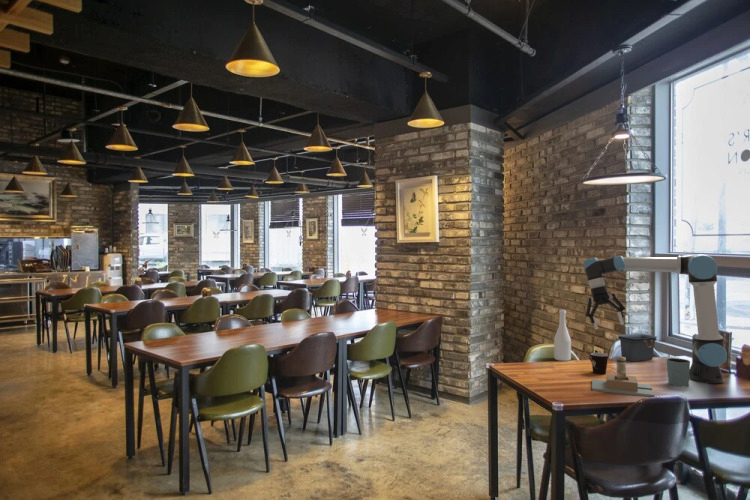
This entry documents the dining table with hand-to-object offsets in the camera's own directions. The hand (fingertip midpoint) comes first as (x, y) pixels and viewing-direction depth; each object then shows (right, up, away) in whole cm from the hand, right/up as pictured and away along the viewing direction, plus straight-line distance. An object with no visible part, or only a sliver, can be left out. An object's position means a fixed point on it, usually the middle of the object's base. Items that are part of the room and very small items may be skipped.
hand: (609, 326), depth 257 cm
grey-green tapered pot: (+29, -27, -11) cm, 41 cm away
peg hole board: (-3, -27, -18) cm, 33 cm away
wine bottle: (-8, -26, +42) cm, 51 cm away
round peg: (-3, -26, -18) cm, 32 cm away
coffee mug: (0, -27, +12) cm, 29 cm away
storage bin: (+37, -26, +42) cm, 62 cm away
